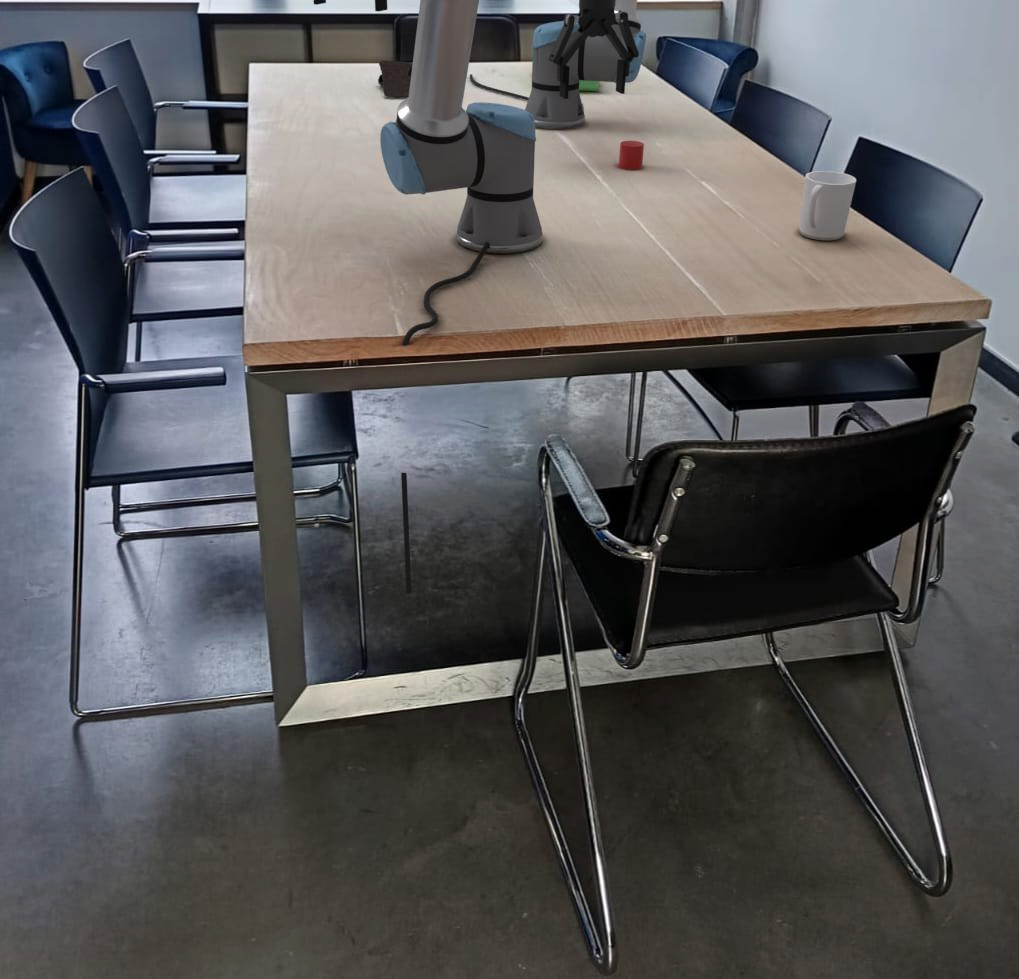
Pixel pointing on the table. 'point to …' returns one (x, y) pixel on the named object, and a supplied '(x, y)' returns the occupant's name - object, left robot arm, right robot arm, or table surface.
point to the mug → (826, 204)
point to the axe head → (395, 78)
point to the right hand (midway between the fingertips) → (592, 95)
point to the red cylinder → (631, 155)
